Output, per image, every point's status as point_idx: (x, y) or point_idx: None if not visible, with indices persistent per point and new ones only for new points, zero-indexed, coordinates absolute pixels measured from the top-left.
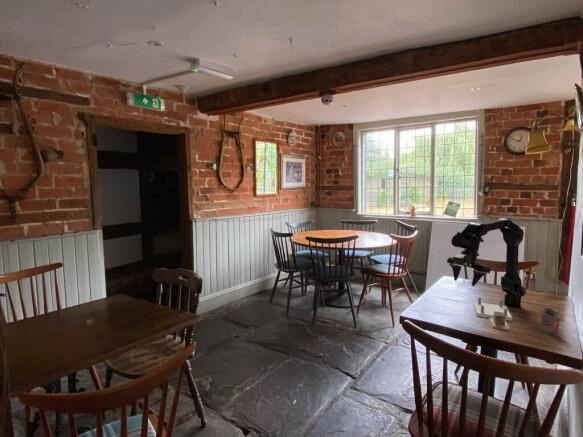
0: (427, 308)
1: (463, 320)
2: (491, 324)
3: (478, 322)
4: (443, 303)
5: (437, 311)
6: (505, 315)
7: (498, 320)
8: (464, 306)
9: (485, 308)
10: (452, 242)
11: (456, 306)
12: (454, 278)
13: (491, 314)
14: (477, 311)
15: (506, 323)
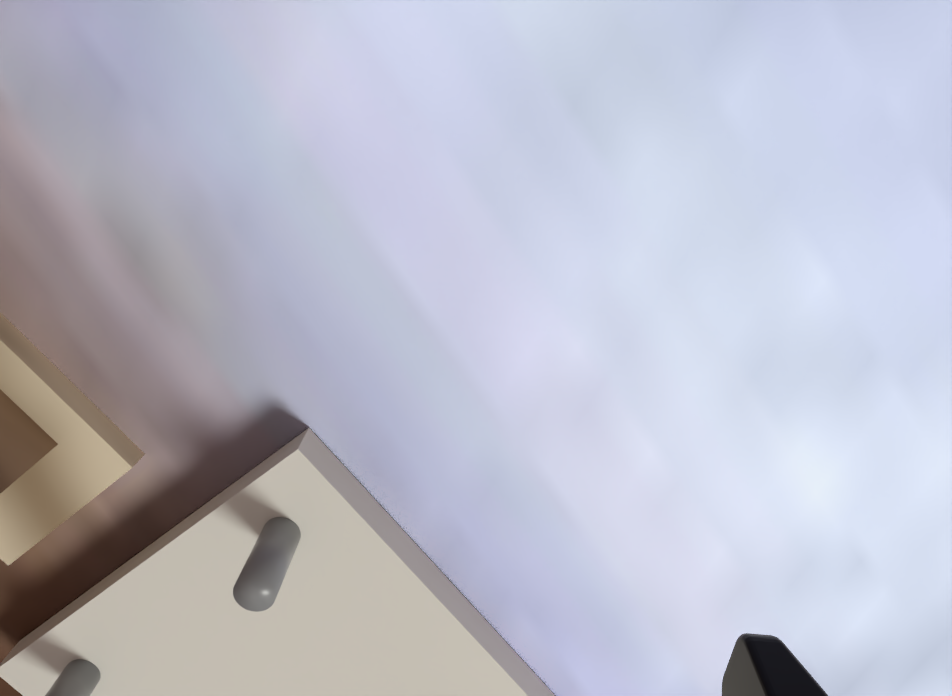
0: (934, 29)
1: (277, 105)
2: (3, 321)
3: (133, 239)
4: (880, 464)
5: (742, 67)
6: (67, 666)
7: None
8: (625, 603)
9: (361, 689)
10: None
11: (690, 516)
12: (798, 686)
13: (171, 564)
14: (334, 509)
15: None
